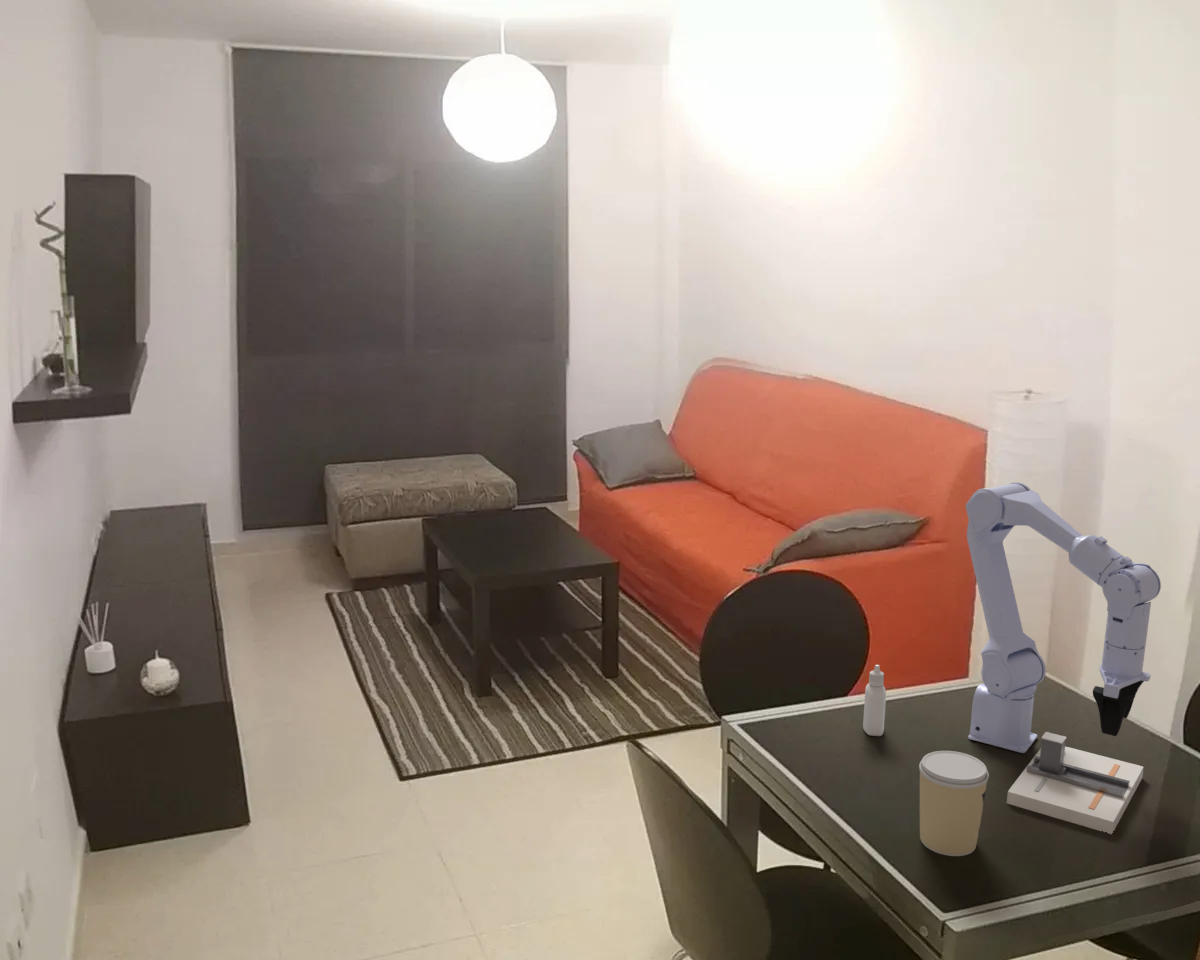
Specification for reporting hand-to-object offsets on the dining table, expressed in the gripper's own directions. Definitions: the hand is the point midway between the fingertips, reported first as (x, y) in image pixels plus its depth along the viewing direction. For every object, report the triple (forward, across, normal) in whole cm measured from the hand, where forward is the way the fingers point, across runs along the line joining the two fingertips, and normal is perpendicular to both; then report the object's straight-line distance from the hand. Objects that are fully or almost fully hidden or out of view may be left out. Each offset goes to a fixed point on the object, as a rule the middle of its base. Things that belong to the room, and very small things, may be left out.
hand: (1114, 724), depth 175 cm
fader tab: (+8, -5, +8) cm, 12 cm away
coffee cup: (+10, -31, +15) cm, 36 cm away
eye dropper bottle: (+11, -3, +38) cm, 39 cm away
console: (+10, -5, +4) cm, 12 cm away
